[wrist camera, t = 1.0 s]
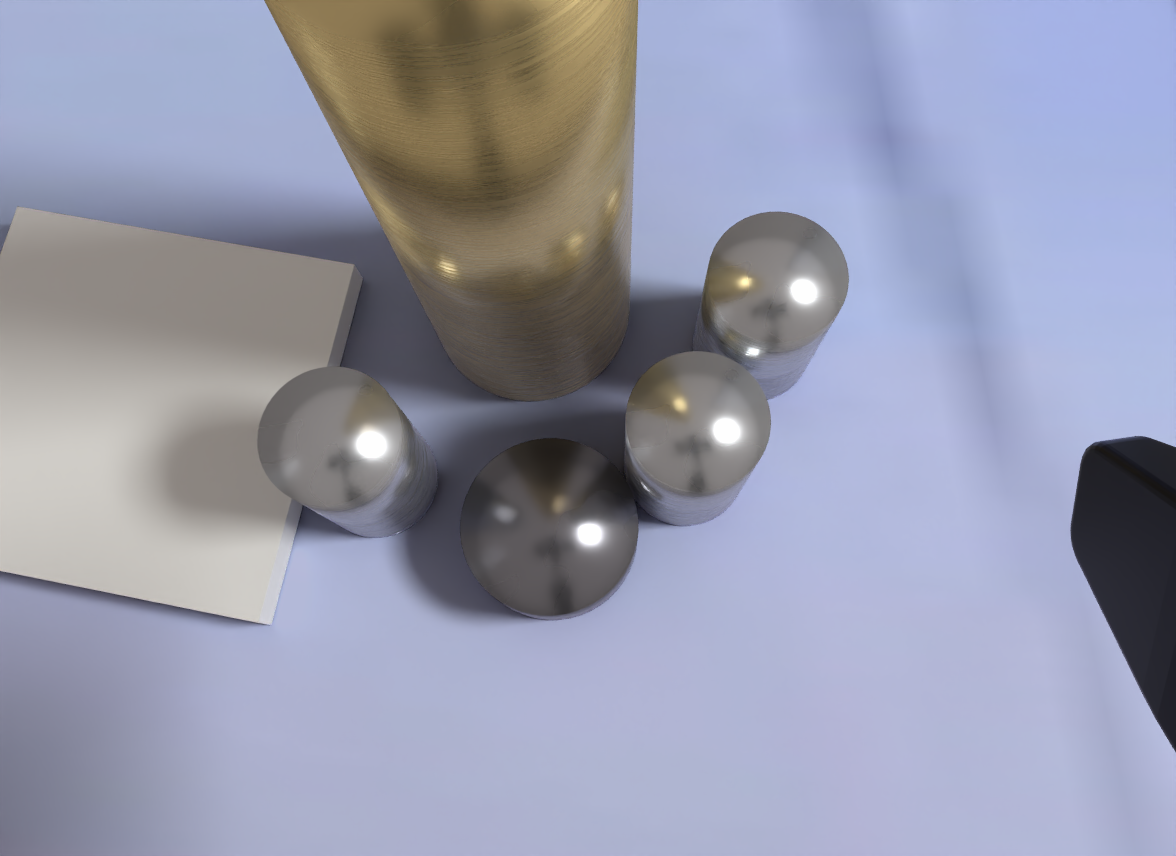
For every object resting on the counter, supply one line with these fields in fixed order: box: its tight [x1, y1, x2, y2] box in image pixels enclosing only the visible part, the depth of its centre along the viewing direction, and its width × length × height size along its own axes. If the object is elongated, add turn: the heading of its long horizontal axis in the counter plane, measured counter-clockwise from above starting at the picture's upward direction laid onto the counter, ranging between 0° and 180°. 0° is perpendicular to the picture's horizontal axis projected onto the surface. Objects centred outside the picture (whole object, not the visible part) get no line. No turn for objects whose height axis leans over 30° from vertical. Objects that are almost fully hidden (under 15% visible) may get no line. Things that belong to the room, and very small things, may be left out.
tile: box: [0, 206, 363, 625], centre depth 22 cm, size 8×8×1 cm
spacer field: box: [257, 212, 849, 620], centre depth 20 cm, size 8×10×4 cm
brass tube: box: [264, 0, 638, 401], centre depth 17 cm, size 4×4×13 cm
